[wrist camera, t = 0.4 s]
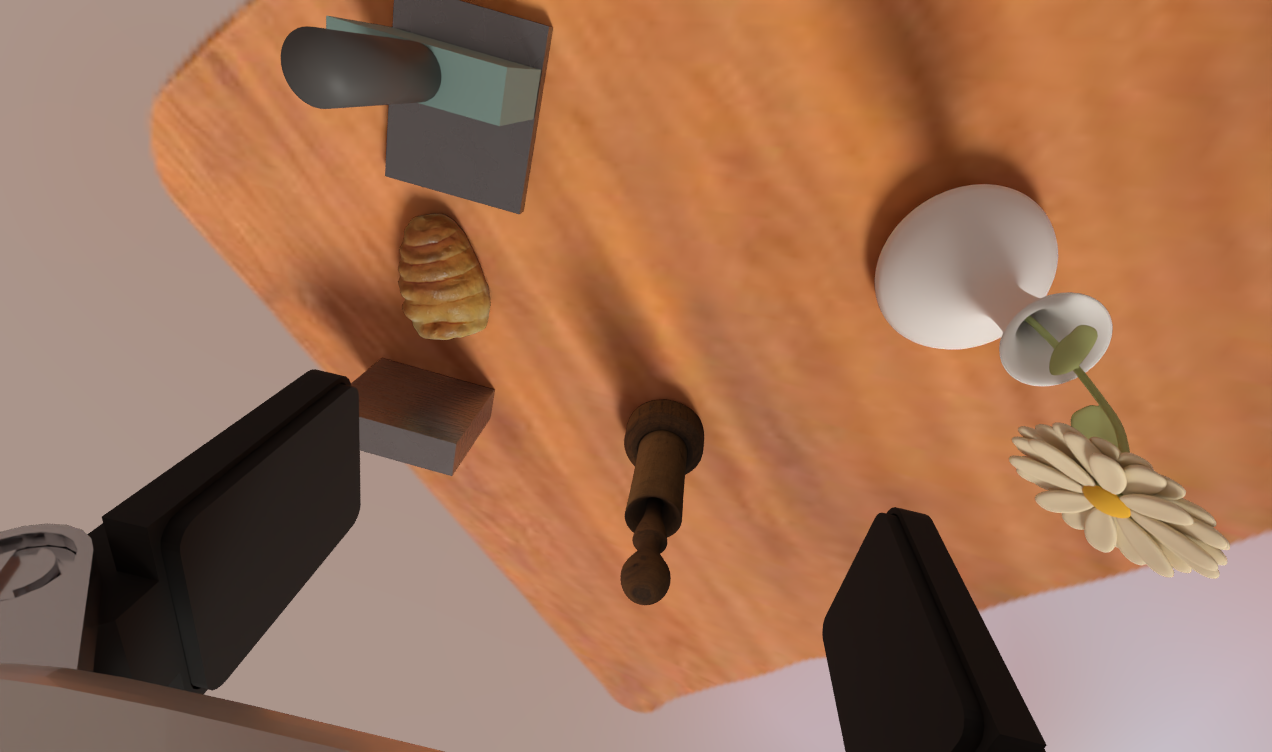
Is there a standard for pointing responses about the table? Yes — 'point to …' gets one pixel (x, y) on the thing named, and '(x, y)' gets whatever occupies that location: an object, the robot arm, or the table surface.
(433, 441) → the block
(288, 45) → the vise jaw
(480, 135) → the dark grey flat plate
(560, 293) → the table surface
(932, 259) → the flower in vase
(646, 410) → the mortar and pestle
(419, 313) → the pastry
